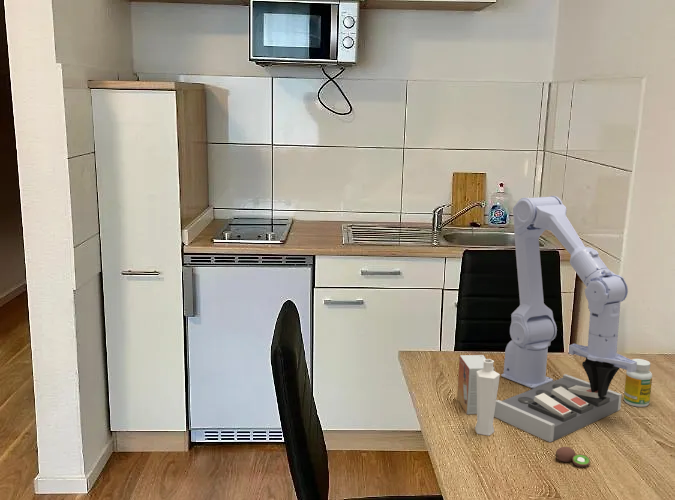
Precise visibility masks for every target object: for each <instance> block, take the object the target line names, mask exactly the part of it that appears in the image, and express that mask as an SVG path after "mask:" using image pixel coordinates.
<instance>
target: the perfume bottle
mask: <svg viewBox="0 0 675 500" xmlns="http://www.w3.org/2000/svg"><path fill="white" fill-rule="evenodd" d="M483 361H484V366H483V369H482V370H479V371H477V414H476V424H475V427H474V429H475V432H476V434H478V435H484V436H490V435H492V434H494V432H495V428H494V420H495V417H494V413H495V406H496V400H498V399H497V396H498V391H499V384H500V377H501V376H500V375H501V374H500V373H499V372H497V371H495V369H494V370H493V367H494V362H495V360H493V359H491V358H486V359H484V360H483Z"/></svg>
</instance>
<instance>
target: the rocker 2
mask: <svg viewBox="0 0 675 500" xmlns="http://www.w3.org/2000/svg"><path fill="white" fill-rule="evenodd" d="M551 394H553V395H554V396H556V397H557V398H559V399H561V400H562V401H564V402H565V403H567V404H569V405H571V406H574V407H576V408H579V409H583V408H585V407H587V406H588V404H589V403H587V402H585V401H584V400H582V399H581V398H579V397H577V396H576V395H574V394H573V393H571V392H569V391H568V390H566V389H565V388H563V387H561V386H560V387H558V388H555V389H552V393H551Z"/></svg>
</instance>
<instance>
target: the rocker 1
mask: <svg viewBox="0 0 675 500" xmlns="http://www.w3.org/2000/svg"><path fill="white" fill-rule="evenodd" d="M534 401H535V402H537V403H538V404H540V405H541V406H543V407H544V408H546V409H547V410H549V411H550V412H552V413H555V414H557V415H560V416H562V417H565V416H567V415H569V414H571V410H569V409H568V408H566V407H565V406H563V405H562V404H560V403H559V402H557V401H555V400H554V399H552V398H551V397H549V396H548V395H546V394H545V393H542V394H540V395H537V396H535V398H534Z"/></svg>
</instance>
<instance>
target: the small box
mask: <svg viewBox="0 0 675 500" xmlns="http://www.w3.org/2000/svg"><path fill="white" fill-rule="evenodd" d="M458 358H459V360H458V361H459V363H458V378H457V393H456V399H457V400H458V402H459V404H460V405H461V407H462V409H463V411H464V412H465V414H466V415H477V371H479V370H482V369H483V366H484V361H483V360H484V359H487V358H486V356H485V355H484V354H472V355H471V354H468V355H467V354H466V355H465V354H464V355H463V354H461V355H459V357H458ZM493 370H494V371H495V367H494V366H493Z"/></svg>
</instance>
